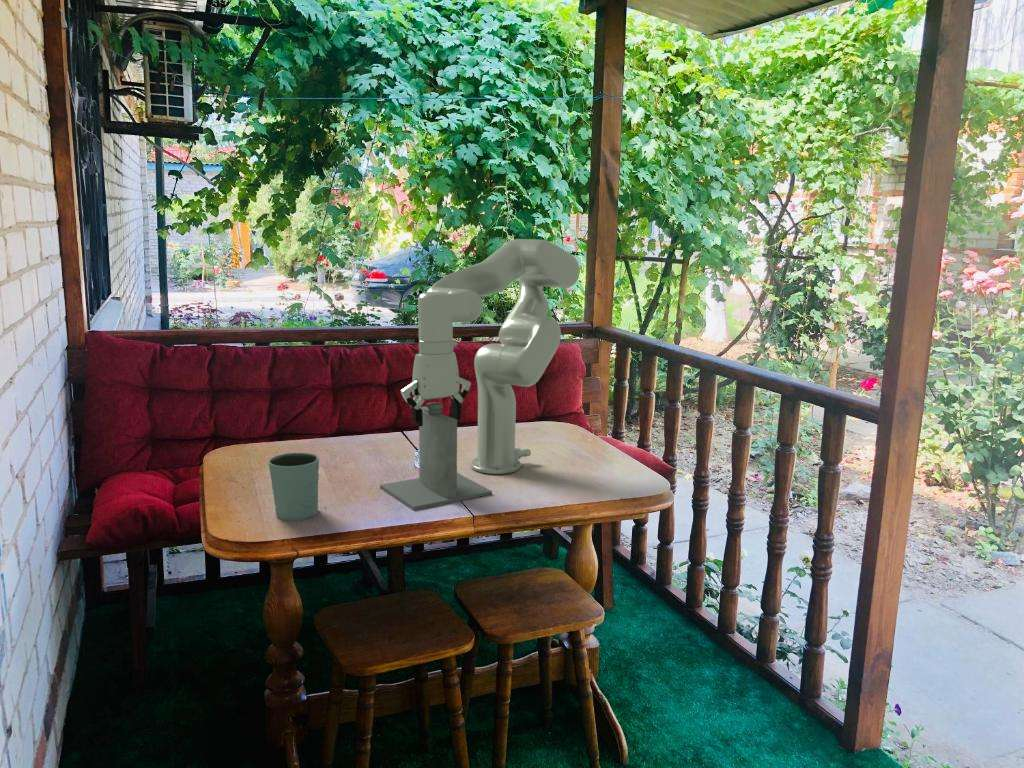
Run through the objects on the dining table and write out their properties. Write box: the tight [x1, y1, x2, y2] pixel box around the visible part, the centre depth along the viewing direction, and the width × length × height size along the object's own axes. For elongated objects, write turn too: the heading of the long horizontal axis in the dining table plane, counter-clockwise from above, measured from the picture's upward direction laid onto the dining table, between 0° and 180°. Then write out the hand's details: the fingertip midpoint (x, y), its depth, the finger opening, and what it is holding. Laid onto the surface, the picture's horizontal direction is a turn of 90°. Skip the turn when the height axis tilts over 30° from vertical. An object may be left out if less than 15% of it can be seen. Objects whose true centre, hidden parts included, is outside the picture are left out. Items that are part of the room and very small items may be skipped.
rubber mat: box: [379, 472, 493, 511], centre depth 181 cm, size 20×17×1 cm
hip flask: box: [418, 401, 458, 498], centre depth 179 cm, size 16×4×20 cm, turn 30°
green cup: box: [267, 452, 320, 522], centre depth 165 cm, size 10×10×12 cm
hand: (437, 422), depth 179 cm, fingers open, 9 cm apart
